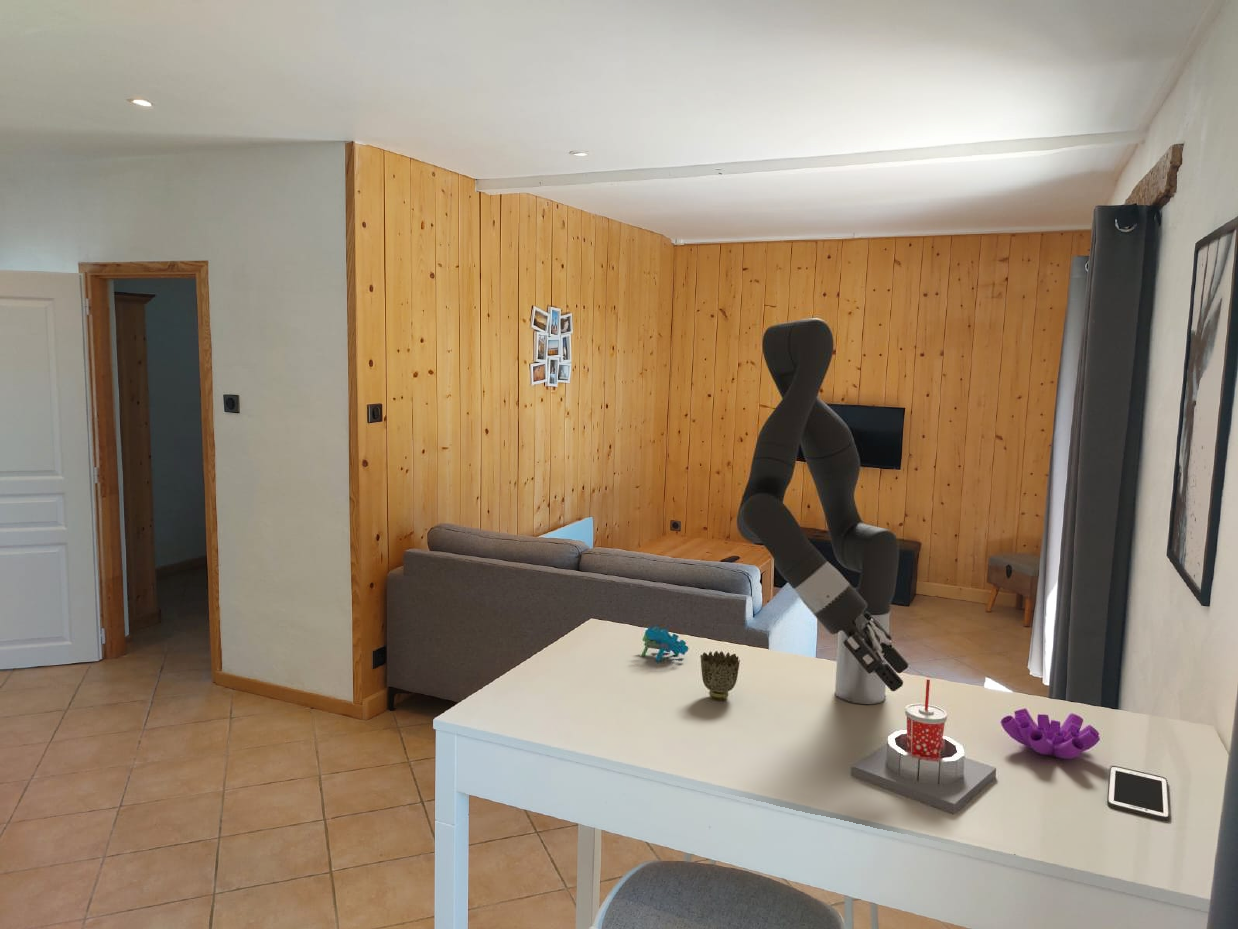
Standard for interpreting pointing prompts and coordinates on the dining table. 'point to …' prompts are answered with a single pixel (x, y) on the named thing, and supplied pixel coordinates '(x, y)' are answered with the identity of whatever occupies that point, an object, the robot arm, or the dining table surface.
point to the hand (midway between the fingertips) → (901, 678)
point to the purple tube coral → (1051, 734)
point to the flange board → (931, 794)
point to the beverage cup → (925, 728)
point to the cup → (719, 673)
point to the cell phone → (1138, 793)
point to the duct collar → (925, 761)
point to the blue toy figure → (663, 642)
